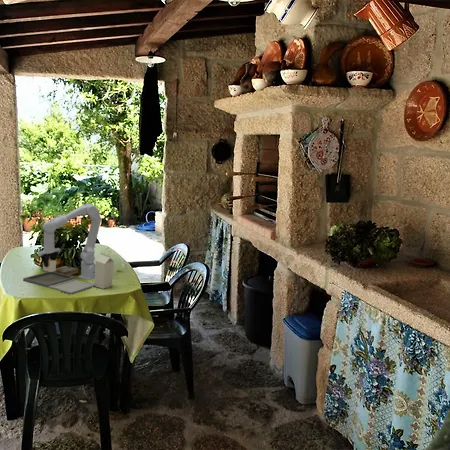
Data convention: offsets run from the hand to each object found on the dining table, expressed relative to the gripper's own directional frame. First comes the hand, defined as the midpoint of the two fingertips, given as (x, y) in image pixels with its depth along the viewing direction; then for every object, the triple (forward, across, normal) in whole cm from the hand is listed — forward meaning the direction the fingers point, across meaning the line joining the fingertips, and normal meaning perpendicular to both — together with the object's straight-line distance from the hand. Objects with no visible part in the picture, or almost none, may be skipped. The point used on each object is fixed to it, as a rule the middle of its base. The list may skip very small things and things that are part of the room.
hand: (49, 265), depth 289 cm
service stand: (+9, -16, -4) cm, 19 cm away
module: (+3, 0, 0) cm, 3 cm away
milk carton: (+9, -11, +31) cm, 34 cm away
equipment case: (+9, 0, +9) cm, 13 cm away
